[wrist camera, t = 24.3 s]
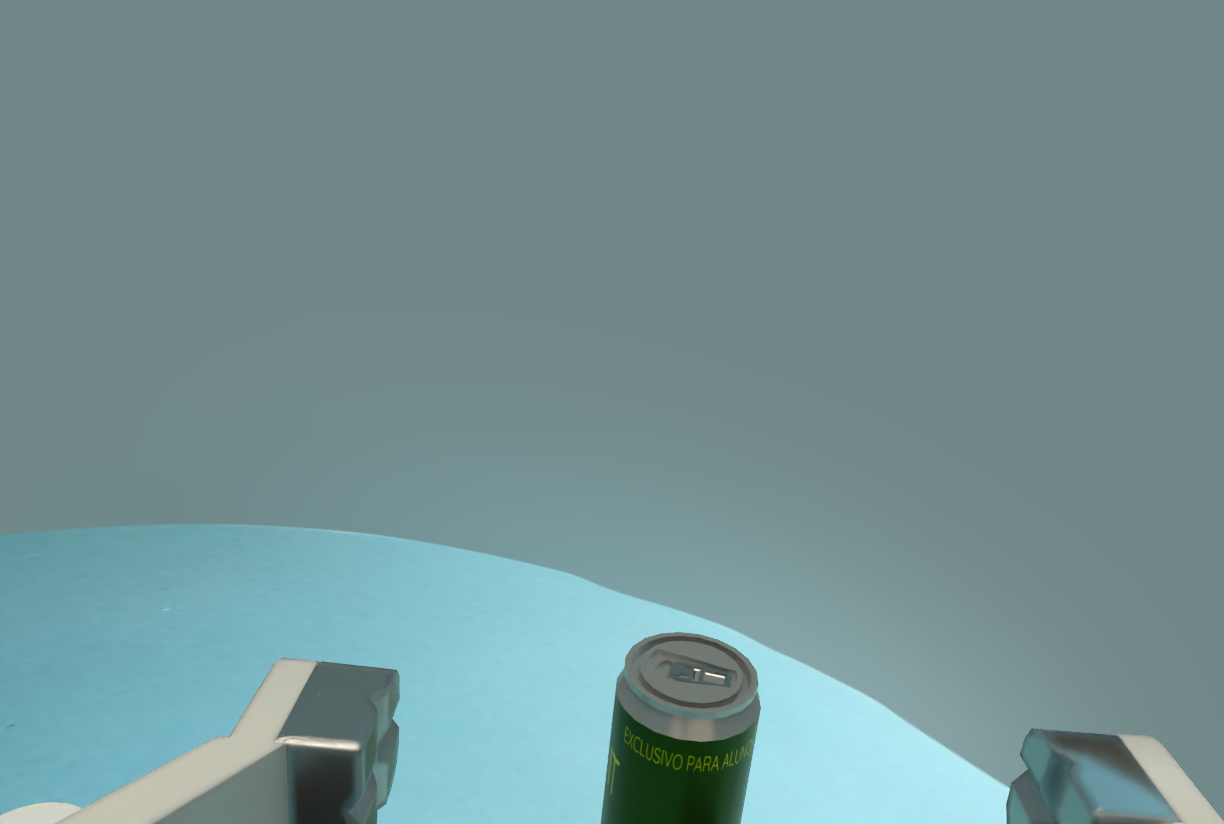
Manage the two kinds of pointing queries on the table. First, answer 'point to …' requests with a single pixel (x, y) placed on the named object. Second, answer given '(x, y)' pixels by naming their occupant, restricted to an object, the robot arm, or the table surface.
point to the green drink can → (681, 733)
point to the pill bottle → (39, 813)
